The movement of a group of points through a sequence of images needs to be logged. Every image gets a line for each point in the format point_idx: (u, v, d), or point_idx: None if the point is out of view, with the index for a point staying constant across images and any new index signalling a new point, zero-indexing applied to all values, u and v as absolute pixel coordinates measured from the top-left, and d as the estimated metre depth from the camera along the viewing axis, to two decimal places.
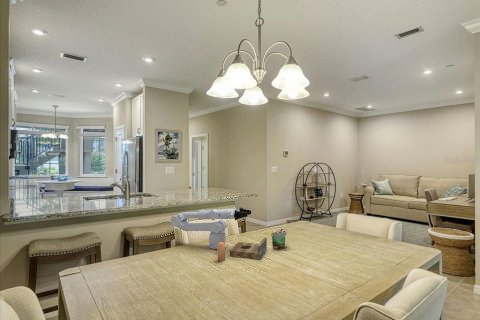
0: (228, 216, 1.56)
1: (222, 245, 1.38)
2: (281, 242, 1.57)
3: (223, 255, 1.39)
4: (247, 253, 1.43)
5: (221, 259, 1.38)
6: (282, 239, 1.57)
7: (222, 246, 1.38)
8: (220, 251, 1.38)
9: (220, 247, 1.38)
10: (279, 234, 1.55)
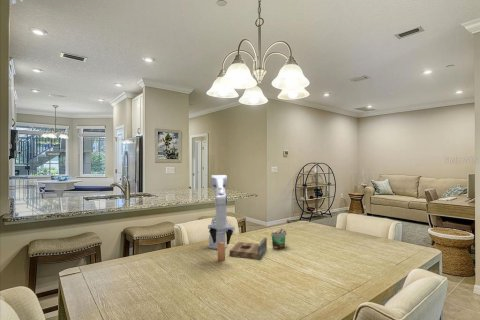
0: None
1: (222, 245, 1.38)
2: (281, 242, 1.57)
3: (223, 255, 1.39)
4: (247, 253, 1.43)
5: (221, 259, 1.38)
6: (282, 239, 1.57)
7: (222, 246, 1.38)
8: (220, 251, 1.38)
9: (220, 247, 1.38)
10: (279, 234, 1.55)
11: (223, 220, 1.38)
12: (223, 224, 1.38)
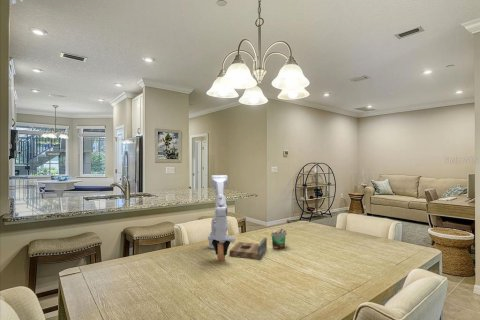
0: None
1: (222, 245, 1.38)
2: (281, 242, 1.57)
3: (223, 255, 1.39)
4: (247, 253, 1.43)
5: (221, 259, 1.38)
6: (282, 239, 1.57)
7: (222, 246, 1.38)
8: (220, 251, 1.38)
9: (220, 247, 1.38)
10: (279, 234, 1.55)
11: (223, 232, 1.38)
12: (223, 236, 1.38)
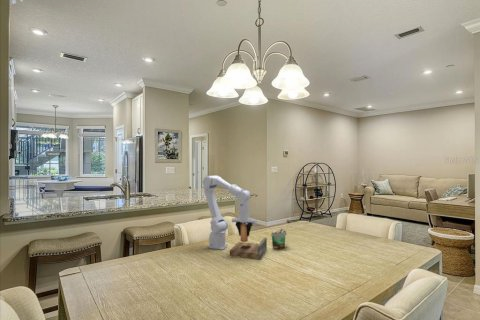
0: None
1: (245, 227, 1.49)
2: (281, 242, 1.57)
3: (246, 236, 1.49)
4: (247, 253, 1.43)
5: (244, 239, 1.49)
6: (282, 239, 1.57)
7: (245, 227, 1.49)
8: (243, 232, 1.49)
9: (243, 228, 1.49)
10: (279, 234, 1.55)
11: (246, 214, 1.48)
12: (246, 217, 1.48)
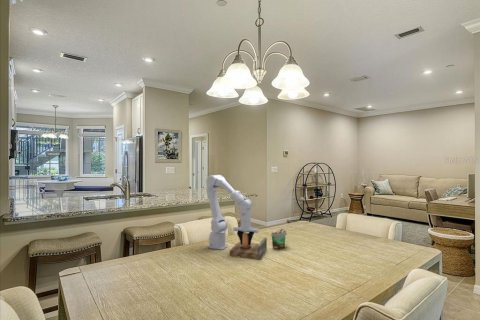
0: None
1: (246, 236, 1.50)
2: (281, 242, 1.57)
3: (247, 245, 1.50)
4: (247, 253, 1.43)
5: (245, 248, 1.49)
6: (282, 239, 1.57)
7: (246, 236, 1.50)
8: (244, 241, 1.50)
9: (244, 237, 1.50)
10: (279, 234, 1.55)
11: (248, 223, 1.49)
12: (248, 227, 1.49)
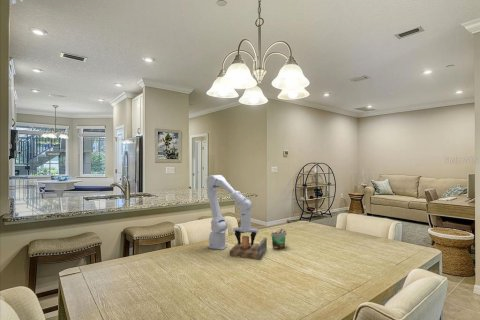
0: None
1: (246, 238, 1.50)
2: (281, 242, 1.57)
3: (247, 248, 1.50)
4: (247, 253, 1.43)
5: None
6: (282, 239, 1.57)
7: (246, 239, 1.50)
8: (244, 244, 1.50)
9: (244, 240, 1.50)
10: (279, 234, 1.55)
11: (248, 223, 1.49)
12: (248, 227, 1.49)
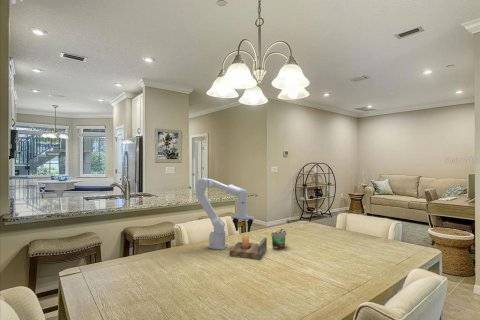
0: None
1: (246, 238, 1.50)
2: (281, 242, 1.57)
3: (247, 248, 1.50)
4: (247, 253, 1.43)
5: None
6: (282, 239, 1.57)
7: (246, 239, 1.50)
8: (244, 244, 1.50)
9: (244, 240, 1.50)
10: (279, 234, 1.55)
11: (245, 211, 1.59)
12: (245, 214, 1.59)
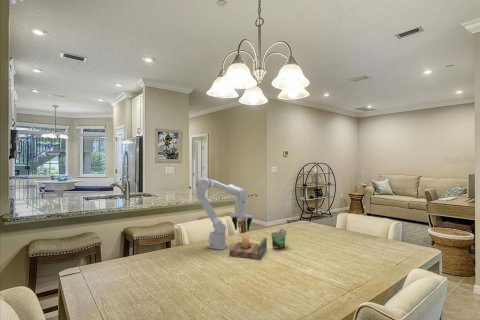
0: None
1: (246, 238, 1.50)
2: (281, 242, 1.57)
3: (247, 248, 1.50)
4: (247, 253, 1.43)
5: None
6: (282, 239, 1.57)
7: (246, 239, 1.50)
8: (244, 244, 1.50)
9: (244, 240, 1.50)
10: (279, 234, 1.55)
11: (244, 210, 1.63)
12: (244, 213, 1.63)
